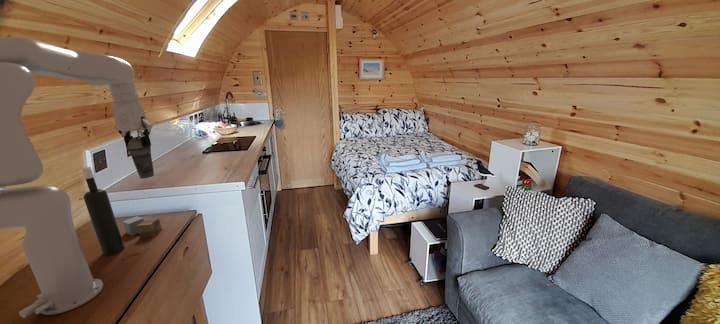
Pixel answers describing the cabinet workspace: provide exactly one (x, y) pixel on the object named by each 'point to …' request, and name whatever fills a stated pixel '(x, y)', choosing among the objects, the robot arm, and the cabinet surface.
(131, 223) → the light grey cube
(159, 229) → the walnut block
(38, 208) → the robot arm
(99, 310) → the cabinet surface
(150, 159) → the beverage cup
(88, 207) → the wine bottle
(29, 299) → the cabinet surface
